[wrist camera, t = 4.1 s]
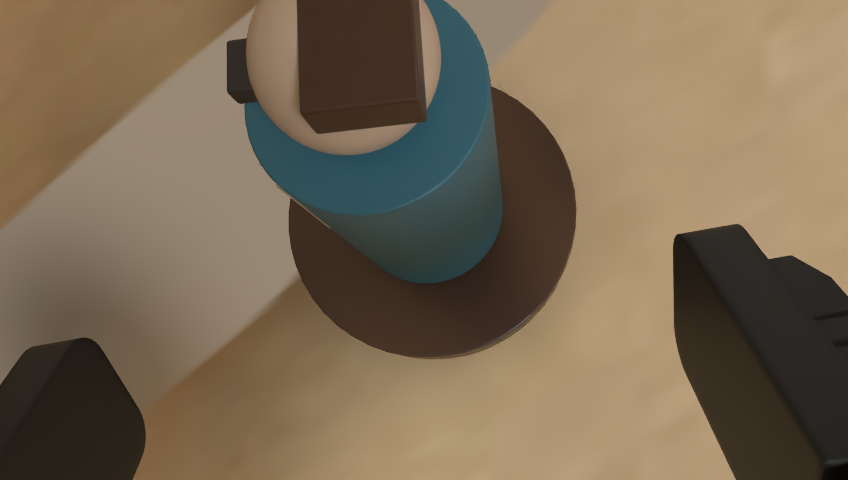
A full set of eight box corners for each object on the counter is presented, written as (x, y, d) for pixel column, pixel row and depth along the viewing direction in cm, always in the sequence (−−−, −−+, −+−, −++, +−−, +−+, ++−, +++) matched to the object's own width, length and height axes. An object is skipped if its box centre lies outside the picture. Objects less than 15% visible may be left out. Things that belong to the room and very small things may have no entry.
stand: (437, 44, 23) (431, 22, 21) (631, 219, 21) (640, 207, 19) (251, 223, 22) (232, 213, 21) (430, 419, 20) (423, 422, 19)
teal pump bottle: (495, 130, 20) (466, -159, 9) (509, 276, 19) (495, 144, 8) (346, 147, 21) (155, -108, 10) (353, 290, 20) (149, 182, 9)
